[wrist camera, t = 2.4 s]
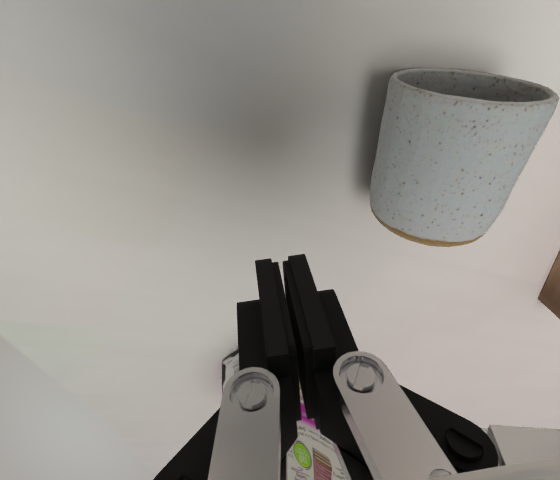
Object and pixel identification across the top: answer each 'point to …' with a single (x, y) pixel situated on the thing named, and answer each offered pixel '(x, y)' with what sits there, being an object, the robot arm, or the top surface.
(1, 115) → the top surface
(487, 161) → the ceramic mug
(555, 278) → the walnut board
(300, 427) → the candy bar box
